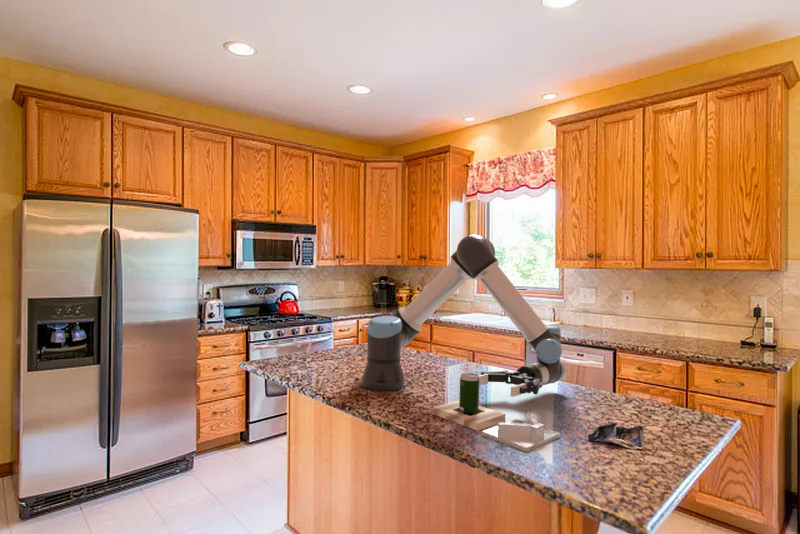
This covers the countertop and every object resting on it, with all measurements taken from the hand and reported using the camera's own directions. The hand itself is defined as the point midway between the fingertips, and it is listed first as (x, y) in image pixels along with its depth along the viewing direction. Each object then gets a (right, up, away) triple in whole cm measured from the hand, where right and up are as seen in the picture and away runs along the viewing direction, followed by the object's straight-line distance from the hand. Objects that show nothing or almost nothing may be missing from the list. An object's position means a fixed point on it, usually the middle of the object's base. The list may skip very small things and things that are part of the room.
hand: (492, 386), depth 134 cm
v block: (+3, -7, -19) cm, 20 cm away
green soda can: (-8, -7, -7) cm, 13 cm away
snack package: (+26, -9, -21) cm, 35 cm away
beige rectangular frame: (-8, -7, -7) cm, 12 cm away
